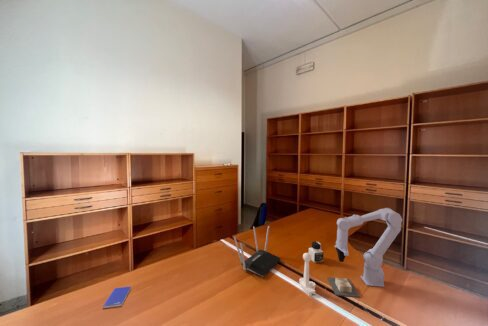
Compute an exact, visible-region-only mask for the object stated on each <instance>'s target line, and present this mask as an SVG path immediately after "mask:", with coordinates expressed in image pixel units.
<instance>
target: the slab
mask: <svg viewBox="0 0 488 326" xmlns="http://www.w3.org/2000/svg"><path fill="white" fill-rule="evenodd" d="M334 278H335V283H336V285H337V287H338V289H339V291H340V292H352V287H351V285H350V283H349V282H348V280H347V279H348V278H345V277H344V278H343V277H342V278H341V277H334Z"/></svg>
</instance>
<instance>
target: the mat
mask: <svg viewBox="0 0 488 326" xmlns="http://www.w3.org/2000/svg"><path fill="white" fill-rule="evenodd" d="M335 278H336V277H327V280H328V283H329V284H330V287H331V289H332V291H333V293H334V295H335V296H338V297H339V296H340V297H347V298H348V297H349V298H361V295H360V293H358V291H357V289H356V288H355V285H354V284H353V283H352V282H351V280H350V279H349V278H346V279H347V280H348V282H349V283H350V285H351V287H352V292H340V291H339V289H338V287H337V285H336V283H335Z"/></svg>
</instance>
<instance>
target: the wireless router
mask: <svg viewBox="0 0 488 326" xmlns="http://www.w3.org/2000/svg"><path fill="white" fill-rule="evenodd" d="M252 228H253V235H254V241H255V248H256V252H255V253H254V254H252V255H251V256H249V257H248V258H247V259H245V255H244V254H245V253H244V248H243V244H242V242H240V243H239V244H240V247H239V244H238V241H237V238H236V236H234V235H233V239H234V243H235V246H236V250H237V253H238V256H239V260H240V265H241V266H242V268H243V271H249V272H251V273H254V274H256V275H258V276H260V277H262V278H264V276H266V274H268V273H269V272H270V271H271V270H272V269H273V268H274V267H275V266H276V265H277V264H278V263H279V262H280V261H281V260H282V259H281V257H279V256H277V255H275V254H273V253H271V252H269V251H268V250H267V249H268V241H269V233H270V225H267V229H266V237H265V243H264V249H259V245H258V241H257V234H256V227H255V226H254V225H253V227H252Z"/></svg>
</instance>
